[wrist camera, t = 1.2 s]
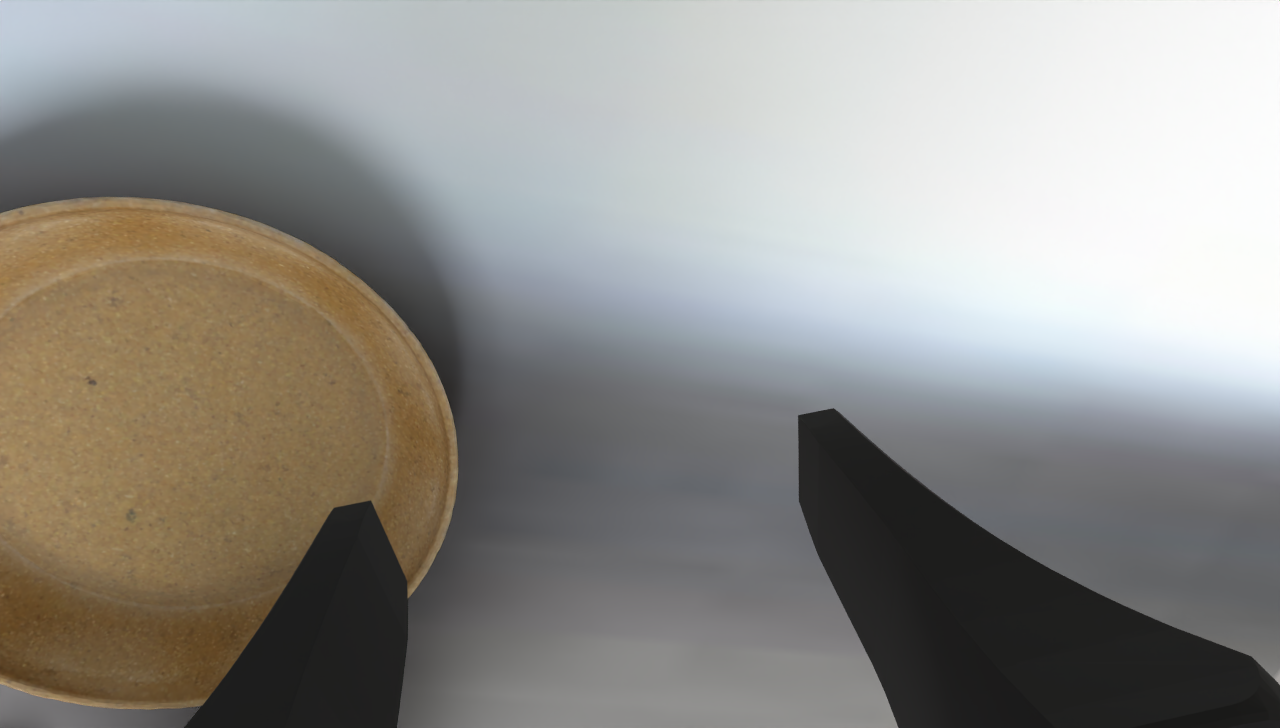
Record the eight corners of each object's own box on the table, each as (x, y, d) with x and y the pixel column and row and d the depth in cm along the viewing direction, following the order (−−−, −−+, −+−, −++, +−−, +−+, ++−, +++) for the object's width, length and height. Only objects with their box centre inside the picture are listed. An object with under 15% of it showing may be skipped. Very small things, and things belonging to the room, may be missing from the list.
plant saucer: (366, 680, 28) (364, 739, 26) (-180, 608, 22) (-247, 676, 20) (520, 288, 24) (535, 314, 22) (-78, 82, 19) (-144, 88, 16)
